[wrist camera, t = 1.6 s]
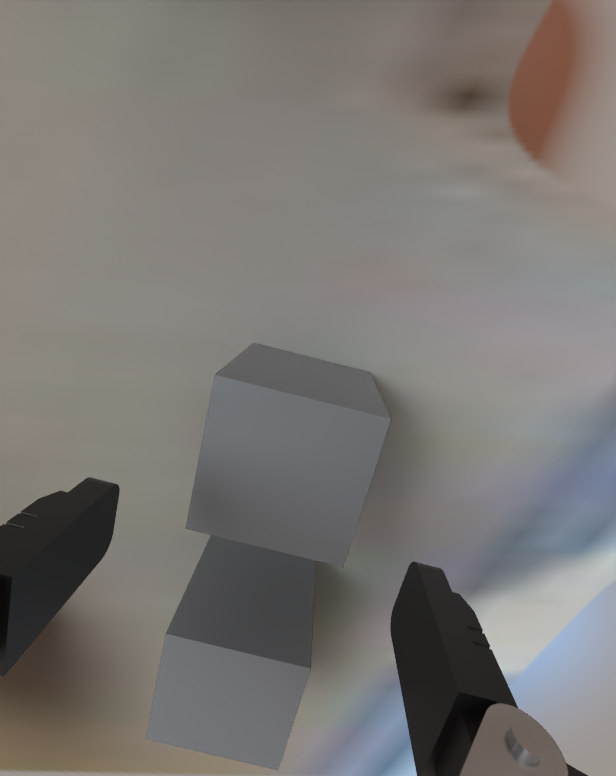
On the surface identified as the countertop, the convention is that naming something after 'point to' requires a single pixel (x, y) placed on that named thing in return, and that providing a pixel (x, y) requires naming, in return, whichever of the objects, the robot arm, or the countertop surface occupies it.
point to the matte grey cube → (288, 453)
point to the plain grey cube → (237, 654)
